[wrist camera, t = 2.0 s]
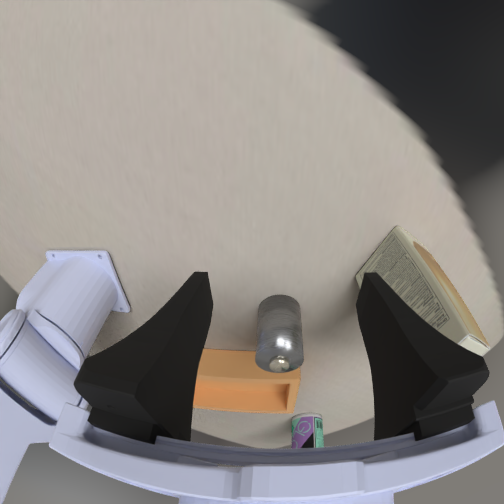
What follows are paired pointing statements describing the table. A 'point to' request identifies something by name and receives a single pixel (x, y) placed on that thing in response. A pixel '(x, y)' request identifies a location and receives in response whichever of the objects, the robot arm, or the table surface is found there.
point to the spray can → (307, 431)
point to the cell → (279, 335)
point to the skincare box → (425, 288)
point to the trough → (243, 384)
